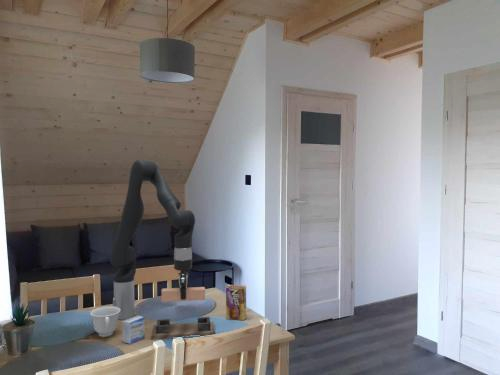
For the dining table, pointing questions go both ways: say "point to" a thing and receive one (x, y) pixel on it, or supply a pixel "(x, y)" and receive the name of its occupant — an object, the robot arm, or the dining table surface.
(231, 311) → the candy box
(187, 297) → the slat
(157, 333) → the board
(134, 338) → the medicine box
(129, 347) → the dining table surface
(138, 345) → the dining table surface
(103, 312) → the teacup
